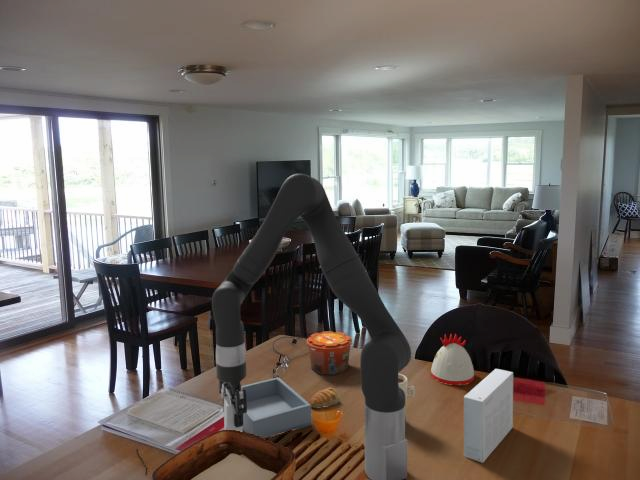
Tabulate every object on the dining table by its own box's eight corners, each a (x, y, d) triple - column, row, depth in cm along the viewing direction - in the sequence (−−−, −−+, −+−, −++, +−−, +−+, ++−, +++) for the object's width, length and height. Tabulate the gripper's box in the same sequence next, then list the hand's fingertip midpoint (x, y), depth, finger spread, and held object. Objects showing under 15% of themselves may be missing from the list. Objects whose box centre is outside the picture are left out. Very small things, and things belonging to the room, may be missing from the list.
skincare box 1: (223, 438, 137) (221, 395, 135) (240, 435, 138) (239, 392, 136) (226, 450, 131) (224, 406, 129) (244, 447, 133) (242, 403, 131)
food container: (360, 364, 184) (360, 335, 183) (337, 380, 171) (337, 349, 169) (322, 355, 193) (321, 327, 191) (297, 370, 180) (297, 341, 178)
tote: (311, 425, 143) (311, 404, 142) (254, 442, 135) (253, 421, 134) (279, 395, 161) (278, 377, 160) (226, 409, 153) (225, 389, 152)
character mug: (373, 426, 142) (373, 382, 140) (376, 414, 149) (376, 371, 147) (413, 431, 139) (414, 385, 137) (414, 418, 146) (415, 374, 144)
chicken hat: (427, 368, 180) (428, 326, 178) (468, 368, 180) (469, 326, 177) (435, 385, 166) (436, 341, 164) (478, 386, 166) (480, 341, 163)
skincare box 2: (493, 421, 144) (495, 367, 141) (513, 428, 140) (516, 372, 138) (461, 455, 128) (463, 395, 125) (482, 464, 124) (485, 401, 122)
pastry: (318, 412, 150) (318, 400, 150) (303, 405, 155) (303, 393, 155) (341, 402, 156) (341, 390, 156) (326, 395, 161) (326, 383, 161)
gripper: (255, 366, 127) (257, 427, 130) (235, 347, 139) (237, 403, 142) (226, 372, 123) (228, 435, 126) (208, 352, 136) (210, 410, 138)
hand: (233, 418), depth 134 cm, fingers open, 8 cm apart
